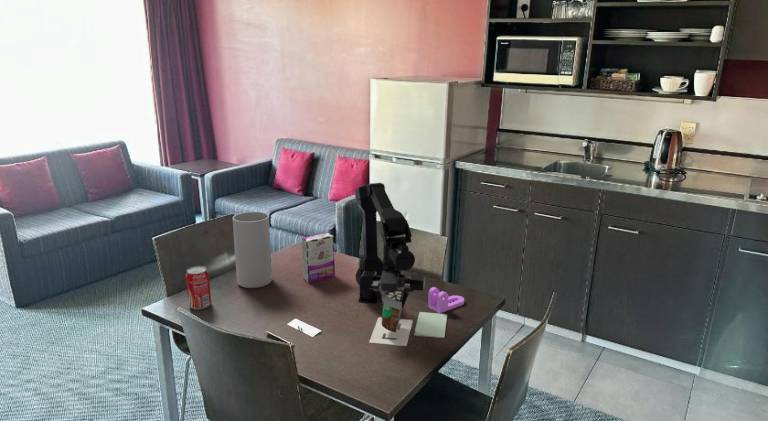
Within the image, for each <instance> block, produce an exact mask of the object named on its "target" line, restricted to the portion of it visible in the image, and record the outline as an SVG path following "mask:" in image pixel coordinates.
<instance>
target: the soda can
mask: <svg viewBox="0 0 768 421" xmlns="http://www.w3.org/2000/svg"><path fill="white" fill-rule="evenodd" d="M185 282H186V292H187V301H188V306H189V308H190V309H191V310H195V311H200V310H204V309H207V308H209V307H210V306H211V304H212V296H211V286H210V276H209V271H208V269H207V267H205V266H204V265H203V266H202V265H198V266H191V267H189V268H188V269H186V274H185Z"/></svg>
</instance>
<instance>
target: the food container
mask: <svg viewBox="0 0 768 421" xmlns="http://www.w3.org/2000/svg"><path fill="white" fill-rule="evenodd" d="M404 288H405V287H401V288H398V290H397V291H396V292H392V291H383V297H382V300H383V306H382V316H381V317H382V326H383V327H384V328H385V329H387V330H389V331H392V332H395V333H396V330H397V327H398V324H399V320H400V319H401V314H402V310H403V308H402V300H403V294H404Z"/></svg>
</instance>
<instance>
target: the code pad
mask: <svg viewBox="0 0 768 421" xmlns="http://www.w3.org/2000/svg"><path fill="white" fill-rule="evenodd" d="M413 320H414V319H407V318H406V319H403V318H400V320H399V324H398V327H397V330H396V333H395V332H392V331H389V330H387V329H385V328H384V327H383V326H382V316H380V317H379V316H378V318H377V320H376V323H375V326H374V328H373V330H372V333H371V336H370V339H369V341H368V343H370V344H379V345H380V344H381V345H391V346H401V347H407V345H408V341H409V338H410V334H411V329H412V326H413Z"/></svg>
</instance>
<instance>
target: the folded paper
mask: <svg viewBox="0 0 768 421" xmlns="http://www.w3.org/2000/svg"><path fill="white" fill-rule="evenodd" d="M286 325H287V326H290V327H291V328H294V329H295V330H297V331H299V332H302V333H304V334H306V335H308V336H310V337H312V338H313V337H315V336H316V335H317V334H319V333H320V332H321V331H322V330H321V329H320V328H317V327H315V326H312V325H310V324H308V323H305V322H304V321H301V320H299V319H298V318H294V319H292V320H291V321H290V322H288V323H287V324H286ZM265 332H266V333H269V334H270V335H272V336H274V337H276V338H279V339H280V340H282V341H284V342H286V343H288V344H290V343H291V342H290V341H287V340H286V339H284V338H283V337H280V336H278V335H275V333H272V332H270V331H267V330H265ZM290 345H292V346H295V344H294V343H291V344H290Z"/></svg>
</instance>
